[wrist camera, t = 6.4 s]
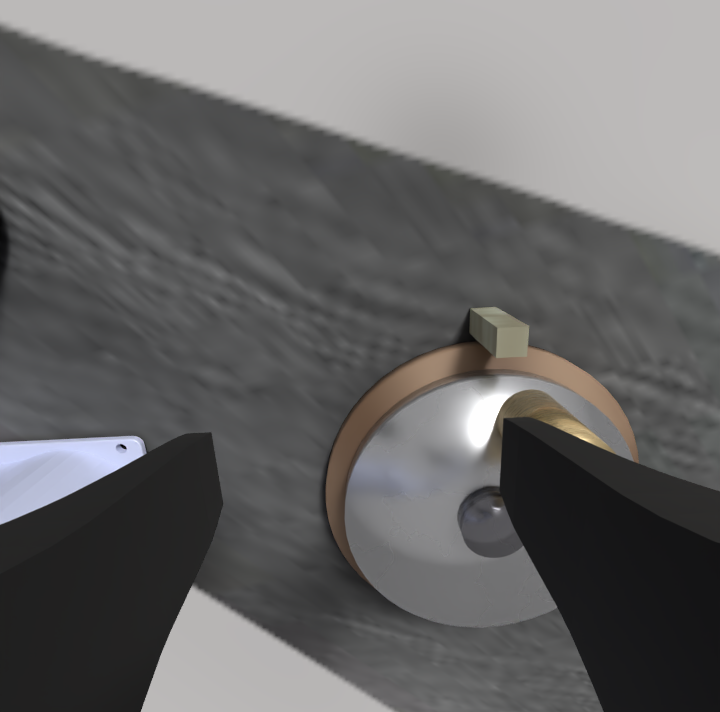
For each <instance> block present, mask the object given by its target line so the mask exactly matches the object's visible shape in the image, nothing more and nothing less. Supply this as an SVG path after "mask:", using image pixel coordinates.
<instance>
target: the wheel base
mask: <svg viewBox="0 0 720 712" xmlns="http://www.w3.org/2000/svg"><path fill="white" fill-rule="evenodd" d="M469 333H470V334H471V335H472V336H473V337H474V338H475V339H476V340H477V341H474V342H465V343H458V344H454V345H450V346H446V347H441V348H438V349H435V350H432V351H430V352H427V353H424V354H422V355H419V356H417V357H415V358H413V359H411V360H409V361H407V362H405V363H403V364H402V365H400V366H398V367H397V368H395V369H394V370H392V371H391V372H389V373H388V374H386V375H385V376H384V377H382V378H381V379H380V380H379V381H378V382H376V383H375V384H374V385H373V386H372V387H371V388H370V389H369V390H368V391H366V393H365V394H364V395H363V396H362V397H361V398H360V400H359V401H358V402H357V403H356V404H355V405H354V407H353V408H352V410H351V411H350V413H349V414H348V416H347V417H346V419H345V420H344V422H343V424H342V426H341V428H340V430H339V432H338V434H337V437H336V439H335V441H334V444H333V448H332V451H331V454H330V458H329V465H328V472H327V480H326V507H327V513H328V520H329V523H330V526H331V530H332V533H333V536H334V538H335V540H336V542H337V544H338V546H339V548H340V550H341V552H342V554H343V555H344V556H345V558H346V559H347V561H348V562H349V564H350V565H351V566H352V567H353V568H354V570H355V571H356V572H357V573H358V574H359V575H360V576H361V577H362V578H363V579H364V580H365V581H367V582H368V583H369V584H370V585H371V586H373V585H372V584H371V583H370V582H369V581H368V580H367V578H366V577H365V576H364V574H363V573H362V571H361V570H360V568H359V567H358V565H357V563H356V561H355V559H354V556H353V554H352V552H351V549H350V546H349V542H348V539H347V535H346V527H345V493H346V484H347V478H348V473H349V470H350V467H351V464H352V461H353V458H354V456H355V454H356V452H357V450H358V448H359V446H360V444H361V442H362V440H363V439H364V438H365V436H366V435H367V433H368V432H369V431H370V429H371V428H372V426H373V425H374V424H375V423H376V422H377V421H378V420H379V419H380V418H381V417H382V415H383V414H384V413H385V412H387V411H388V410H389V409H390V408H391V407H393V406H394V405H395V404H396V403H397V402H398V401H400V400H401V399H403V398H404V397H406V396H408V395H409V394H411V393H412V392H414V391H415V390H417V389H419V388H421V387H423V386H425V385H427V384H429V383H432V382H434V381H436V380H439V379H442V378H445V377H448V376H451V375H455V374H459V373H464V372H469V371H474V370H486V369H511V370H518V371H524V372H530V373H534V374H537V375H541V376H544V377H547V378H550V379H552V380H555V381H557V382H559V383H561V384H563V385H565V386H567V387H569V388H570V389H572V390H573V391H575V392H576V393H578V394H580V395H581V396H582V397H584V398H585V399H586V400H588V401H589V402H590V403H592V404H593V405H594V406H596V407H597V408H598V409H599V410H600V411H601V412H602V413H604V414H605V415H606V416H607V417H608V418H609V419H610V420H611V422H612V423H613V424H614V425H615V426H616V428H617V429H618V430H619V431H620V433H621V435H622V436H623V438H624V440H625V442H626V443H627V445H628V447H629V450H630V452H631V455H632V458H633V460H634V462H636V463H638V464H639V461H638V451H637V446H636V442H635V437H634V434H633V432H632V429H631V427H630V424H629V422H628V419H627V417H626V416H625V414H624V412H623V411H622V409H621V407H620V406H619V404H618V402H617V401H616V400H615V399H614V398H613V396H612V395H611V394H610V393H609V392H608V391H607V389H606V388H605V387H604V386H602V385H601V384H600V383H599V382H598V381H597V380H595V379H594V378H593V377H592V376H591V375H589V374H588V373H586V372H585V371H583V370H582V369H580V368H578V367H577V366H575V365H574V364H572V363H570V362H569V361H567V360H566V359H564V358H562V357H560V356H558V355H555V354H553V353H551V352H549V351H546V350H544V349H540V348H537V347H533V346H530V345H528V335H529V326H528V325H526V324H524V323H522V322H521V321H519V320H517V319H515V318H514V317H512V316H510V315H509V314H507V313H505V312H503V311H502V310H500V309H498V308H496V307H487V308H470V328H469ZM373 587H374V586H373Z"/></svg>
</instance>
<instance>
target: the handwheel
mask: <svg viewBox="0 0 720 712" xmlns="http://www.w3.org/2000/svg"><path fill="white" fill-rule="evenodd" d="M514 417H531V418H534V419H537V420H540V421H542V422H545V423H547V424H549V425H552V426H554V427H556V428H558V429H561V430H563V431H565V432H567V433H569V434H571V435H574V436H576V437H578V438H580V439H582V440H585V441H587V442H589V443H591V444H593V445H596V446H598V447H600V448H602V449H605V450H607V451H609V452H612V453H614V454H616V455H619V456H621V457H623V458H626V459H628V460H631V461H633V462H634V460H633V458H632V455H631V452H630V450H629V447H628V445H627V443H626V442H625V440H624V438H623V436H622V435H621V433H620V431H619V430H618V429H617V428H616V426H615V425H614V424H613V423H612V422H611V420H610V419H609V418H608V417H607V416H606V415H605V414H604V413H602V412H601V411H600V410H599V409H598V408H597V407H596V406H594V405H593V404H592V403H590V402H589V401H588V400H586V399H585V398H584V397H582V396H581V395H580V394H578V393H576V392H575V391H573V390H572V389H570V388H569V387H567V386H565V385H563V384H561V383H559V382H557V381H555V380H552V379H550V378H547V377H544V376H541V375H537V374H534V373H530V372H524V371H518V370H511V369H486V370H474V371H469V372H464V373H459V374H455V375H451V376H448V377H445V378H442V379H439V380H436V381H434V382H432V383H429V384H427V385H425V386H423V387H421V388H419V389H417V390H415V391H414V392H412V393H411V394H409V395H408V396H406V397H404V398H403V399H401V400H400V401H398V402H397V403H396V404H395V405H394V406H393V407H391V408H390V409H389V410H388V411H387V412H385V413H384V414H383V415H382V417H381V418H380V419H379V420H378V421H377V422H376V423H375V424H374V425H373V426H372V428H371V429H370V431H369V432H368V433H367V435H366V436H365V438H364V439H363V440H362V442H361V444H360V446H359V448H358V450H357V452H356V454H355V456H354V458H353V461H352V464H351V467H350V470H349V473H348V478H347V484H346V493H345V527H346V535H347V539H348V542H349V546H350V549H351V552H352V554H353V556H354V559H355V561H356V563H357V565H358V567H359V568H360V570H361V571H362V573H363V574H364V576H365V577H366V578H367V580H368V581H369V582H370V583H371V584H372V585H373V586H374V588H375V589H376V590H377V591H379V592H380V593H381V594H382V595H383V596H384V597H386V598H387V599H388V600H389V601H391V602H392V603H394V604H395V605H397V606H399V607H400V608H402V609H404V610H406V611H408V612H410V613H412V614H414V615H416V616H419V617H421V618H424V619H427V620H430V621H433V622H438V623H442V624H446V625H453V626H461V627H492V626H502V625H507V624H513V623H518V622H521V621H525V620H528V619H532V618H535V617H537V616H540V615H542V614H545V613H547V612H550V611H552V610H554V609H556V608H557V606H556V604H555V602H554V600H553V599H552V597H551V595H550V593H549V591H548V589H547V588H546V586H545V584H544V582H543V580H542V579H541V577H540V575H539V573H538V571H537V570H536V568H535V566H534V564H533V562H532V561H531V559H530V557H529V555H528V553H527V551H526V550H525V548H524V546H523V544H522V542H521V540H520V538H519V537H518V535H517V533H516V531H515V529H514V527H513V525H512V522H511V520H510V517H509V515H508V512H507V510H506V507H505V504H504V502H503V499H502V496H501V493H500V491H499V488H500V470H501V452H502V434H503V418H514Z"/></svg>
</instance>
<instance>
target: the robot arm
mask: <svg viewBox="0 0 720 712" xmlns="http://www.w3.org/2000/svg"><path fill="white" fill-rule="evenodd" d="M120 444H123V445H125V446H126V448H127V449H123V448H122V447H121V446H120ZM499 491H500V493H501V496H502V499H503V502H504V504H505V507H506V510H507V512H508V515H509V517H510V520H511V522H512V525H513V527H514V529H515V531H516V533H517V535H518V537H519V538H520V540H521V542H522V544H523V546H524V548H525V550H526V551H527V553H528V555H529V557H530V559H531V561H532V562H533V564H534V566H535V568H536V570H537V571H538V573H539V575H540V577H541V579H542V580H543V582H544V584H545V586H546V588H547V589H548V591H549V593H550V595H551V597H552V599H553V600H554V602H555V604H556V606H557V608H558V609H559V611H560V613H561V615H562V617H563V619H564V621H565V623H566V625H567V627H568V629H569V631H570V633H571V635H572V638H573V640H574V642H575V645H576V647H577V649H578V652H579V654H580V656H581V659H582V661H583V663H584V665H585V668H586V670H587V672H588V675H589V677H590V679H591V682H592V684H593V686H594V689H595V691H596V694H597V696H598V699H599V701H600V704H601V706H602V708H603V711H604V712H720V491H716V490H713V489H710V488H707V487H703V486H700V485H697V484H694V483H691V482H688V481H685V480H682V479H679V478H676V477H673V476H670V475H667V474H665V473H662V472H659V471H656V470H654V469H651V468H648V467H646V466H643V465H641V464H638V463H636V462H633V461H631V460H628V459H626V458H623V457H621V456H619V455H616V454H614V453H612V452H609V451H607V450H605V449H602V448H600V447H598V446H596V445H593V444H591V443H589V442H587V441H585V440H582V439H580V438H578V437H576V436H574V435H571V434H569V433H567V432H565V431H563V430H561V429H558V428H556V427H554V426H552V425H549V424H547V423H545V422H542V421H540V420H537V419H534V418H531V417H514V418H503V434H502V452H501V470H500V488H499ZM222 506H223V500H222V494H221V488H220V482H219V476H218V470H217V464H216V458H215V452H214V446H213V440H212V434H211V432H210V433H190V434H185V435H182V436H179V437H177V438H175V439H173V440H171V441H169V442H167V443H165V444H163V445H161V446H159V447H158V448H156V449H154V450H152V451H150V452H148V453H146V448H145V444H144V442H143V440H142V439H141V438H139V437H137V436H120V437H100V438H80V439H59V440H39V441H19V442H0V712H141V709H142V706H143V703H144V700H145V698H146V695H147V692H148V689H149V686H150V683H151V681H152V678H153V675H154V672H155V669H156V667H157V664H158V661H159V658H160V655H161V653H162V650H163V648H164V645H165V643H166V641H167V638H168V636H169V633H170V631H171V629H172V627H173V624H174V622H175V620H176V618H177V616H178V614H179V612H180V609H181V607H182V605H183V603H184V601H185V599H186V597H187V594H188V592H189V590H190V588H191V586H192V584H193V582H194V579H195V577H196V575H197V573H198V571H199V569H200V566H201V564H202V562H203V560H204V558H205V555H206V553H207V551H208V549H209V546H210V544H211V542H212V539H213V536H214V533H215V530H216V527H217V524H218V520H219V517H220V513H221V510H222Z"/></svg>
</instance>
